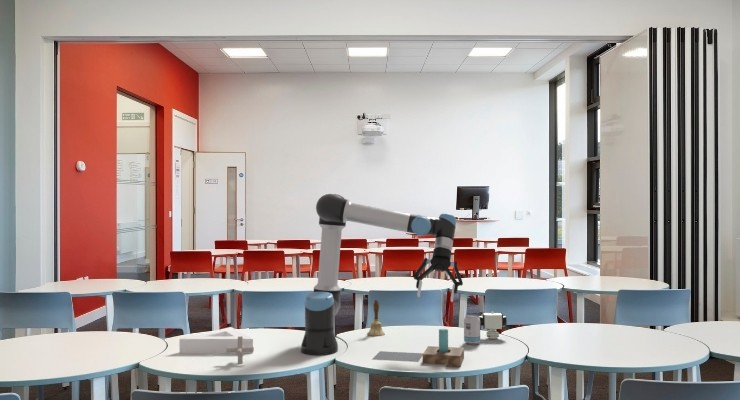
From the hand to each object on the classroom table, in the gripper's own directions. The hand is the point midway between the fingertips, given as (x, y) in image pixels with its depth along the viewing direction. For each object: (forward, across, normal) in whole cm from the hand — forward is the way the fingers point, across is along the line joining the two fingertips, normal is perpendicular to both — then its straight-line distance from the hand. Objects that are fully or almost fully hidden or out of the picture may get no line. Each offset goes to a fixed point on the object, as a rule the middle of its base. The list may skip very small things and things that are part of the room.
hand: (434, 298), depth 255 cm
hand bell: (+9, +30, -40) cm, 50 cm away
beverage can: (+9, -15, -28) cm, 33 cm away
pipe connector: (+41, +67, +17) cm, 80 cm away
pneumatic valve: (+3, -23, -40) cm, 46 cm away
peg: (+25, -7, +2) cm, 26 cm away
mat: (+26, +10, 0) cm, 28 cm away
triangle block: (+32, +87, -8) cm, 93 cm away
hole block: (+25, -8, +2) cm, 26 cm away
